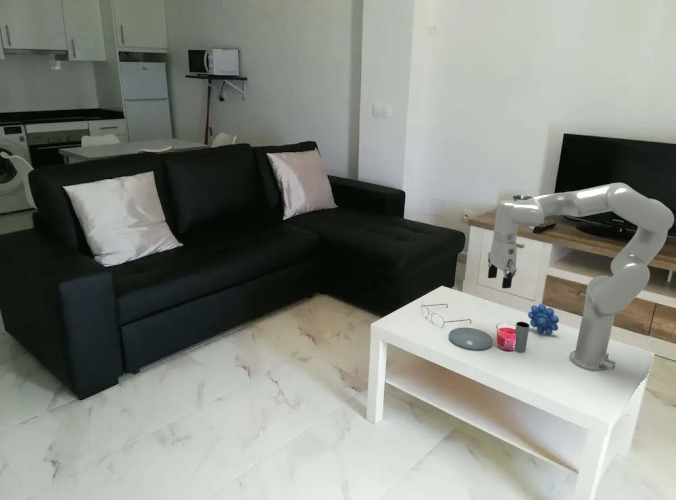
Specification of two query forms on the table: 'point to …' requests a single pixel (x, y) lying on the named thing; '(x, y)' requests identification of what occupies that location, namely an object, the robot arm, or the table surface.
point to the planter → (521, 336)
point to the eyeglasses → (440, 316)
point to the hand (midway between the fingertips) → (498, 282)
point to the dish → (471, 339)
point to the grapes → (543, 319)
